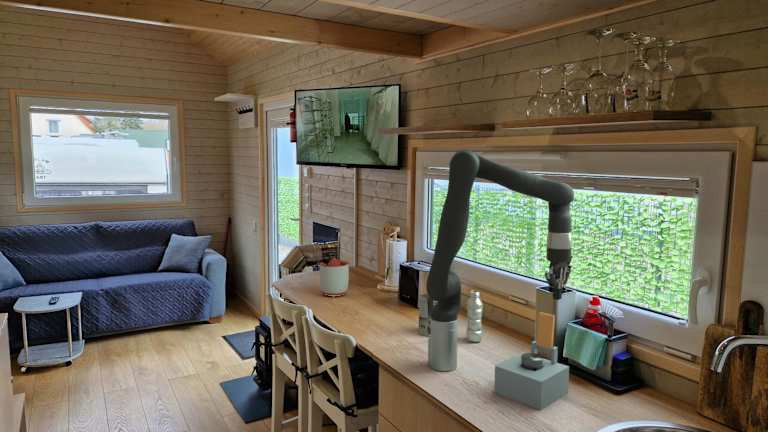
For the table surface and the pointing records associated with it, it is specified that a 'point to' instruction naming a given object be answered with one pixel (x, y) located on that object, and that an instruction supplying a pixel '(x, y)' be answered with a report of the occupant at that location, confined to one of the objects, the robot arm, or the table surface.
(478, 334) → the plastic bottle
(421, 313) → the coffee box
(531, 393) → the block
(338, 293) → the pale green pot
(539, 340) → the tan flat wooden board
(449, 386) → the table surface
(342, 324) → the table surface
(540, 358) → the pin
